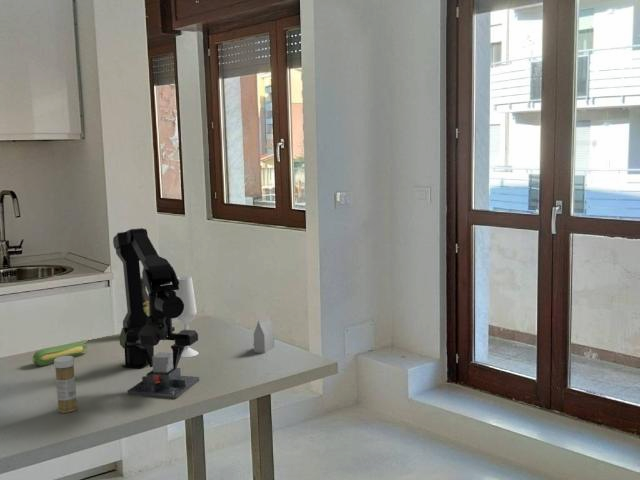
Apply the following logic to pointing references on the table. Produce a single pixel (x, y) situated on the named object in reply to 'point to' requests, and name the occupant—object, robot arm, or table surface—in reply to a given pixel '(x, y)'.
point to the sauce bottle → (145, 298)
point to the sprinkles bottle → (65, 384)
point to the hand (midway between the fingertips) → (163, 367)
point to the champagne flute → (187, 308)
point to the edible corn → (58, 353)
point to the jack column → (163, 363)
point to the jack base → (163, 385)
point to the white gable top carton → (264, 336)
